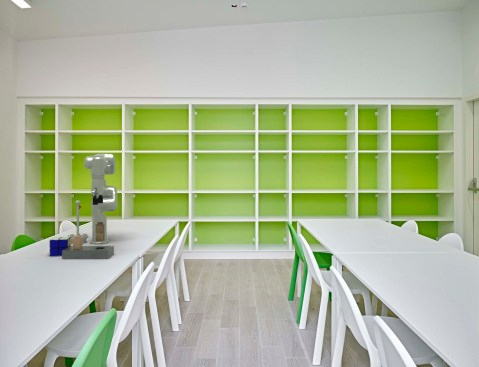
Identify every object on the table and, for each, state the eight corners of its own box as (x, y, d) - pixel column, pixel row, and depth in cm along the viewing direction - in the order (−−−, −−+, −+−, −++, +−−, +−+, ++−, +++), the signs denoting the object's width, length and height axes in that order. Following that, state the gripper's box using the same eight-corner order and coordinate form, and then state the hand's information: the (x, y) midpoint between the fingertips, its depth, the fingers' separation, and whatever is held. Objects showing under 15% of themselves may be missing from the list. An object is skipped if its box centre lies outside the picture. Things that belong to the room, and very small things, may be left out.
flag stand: (82, 244, 243) (82, 201, 242) (64, 244, 243) (63, 201, 242) (91, 240, 256) (91, 199, 255) (73, 240, 256) (73, 199, 255)
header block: (70, 254, 216) (70, 245, 215) (114, 254, 217) (114, 246, 217) (62, 258, 204) (62, 250, 203) (108, 258, 205) (108, 250, 205)
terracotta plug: (75, 253, 212) (75, 235, 211) (82, 253, 212) (82, 235, 212) (72, 255, 208) (72, 236, 207) (79, 255, 208) (79, 236, 208)
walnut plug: (97, 239, 212) (97, 221, 212) (104, 240, 213) (104, 221, 212) (95, 241, 208) (95, 222, 208) (102, 241, 209) (102, 222, 208)
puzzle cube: (49, 256, 209) (49, 239, 209) (53, 252, 219) (53, 236, 218) (67, 255, 212) (67, 239, 211) (71, 252, 221) (71, 236, 221)
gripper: (96, 176, 230) (96, 202, 231) (86, 177, 213) (86, 205, 213) (108, 176, 231) (108, 202, 231) (99, 177, 213) (99, 205, 214)
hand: (97, 204), depth 222 cm, fingers open, 9 cm apart
